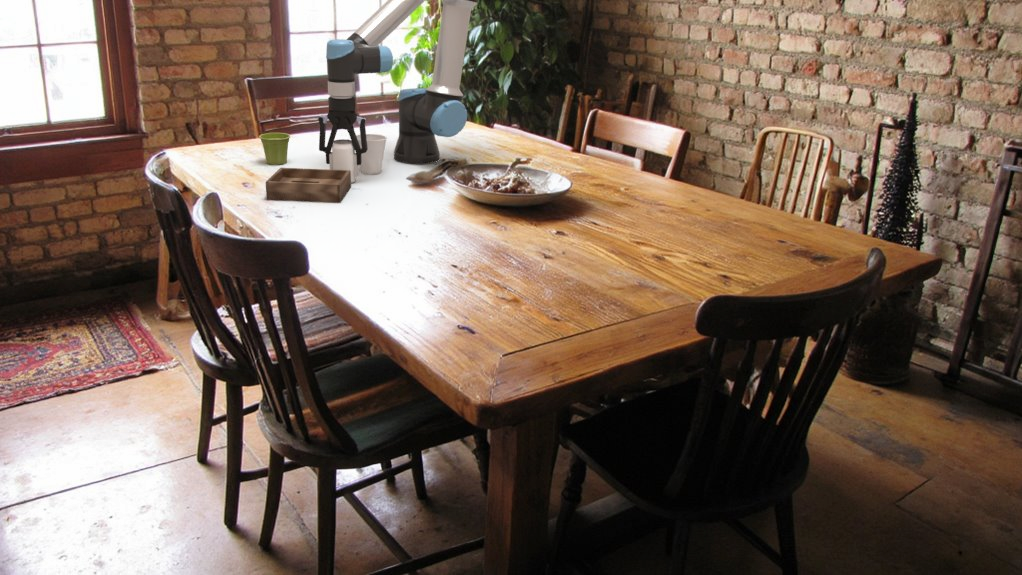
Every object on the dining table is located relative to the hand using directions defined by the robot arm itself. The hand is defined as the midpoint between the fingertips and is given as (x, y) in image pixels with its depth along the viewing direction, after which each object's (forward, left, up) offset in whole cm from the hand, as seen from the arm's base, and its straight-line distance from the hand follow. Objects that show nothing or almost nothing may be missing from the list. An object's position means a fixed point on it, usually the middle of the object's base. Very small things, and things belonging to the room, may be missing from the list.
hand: (344, 175), depth 249 cm
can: (0, 0, -2) cm, 2 cm away
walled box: (+7, +14, -2) cm, 16 cm away
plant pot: (+25, -19, -2) cm, 31 cm away
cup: (-6, -12, -2) cm, 14 cm away
